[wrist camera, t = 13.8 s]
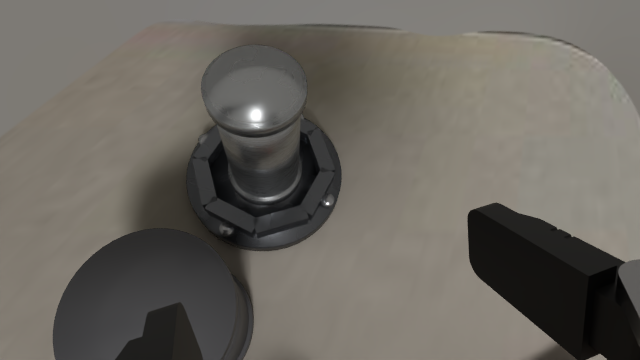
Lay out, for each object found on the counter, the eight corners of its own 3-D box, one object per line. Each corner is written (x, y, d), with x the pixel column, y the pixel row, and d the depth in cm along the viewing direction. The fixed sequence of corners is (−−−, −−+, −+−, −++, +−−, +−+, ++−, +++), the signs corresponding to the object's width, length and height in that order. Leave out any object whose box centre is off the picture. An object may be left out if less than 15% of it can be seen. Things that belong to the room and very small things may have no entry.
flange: (206, 271, 25) (199, 264, 23) (177, 134, 30) (169, 118, 28) (361, 225, 27) (366, 214, 25) (313, 103, 32) (315, 86, 30)
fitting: (239, 215, 26) (212, 137, 17) (222, 152, 28) (191, 52, 19) (310, 195, 27) (321, 112, 18) (290, 135, 29) (290, 33, 20)
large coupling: (127, 409, 22) (43, 436, 15) (128, 276, 25) (58, 243, 18) (261, 379, 23) (244, 390, 16) (246, 254, 26) (226, 215, 19)
